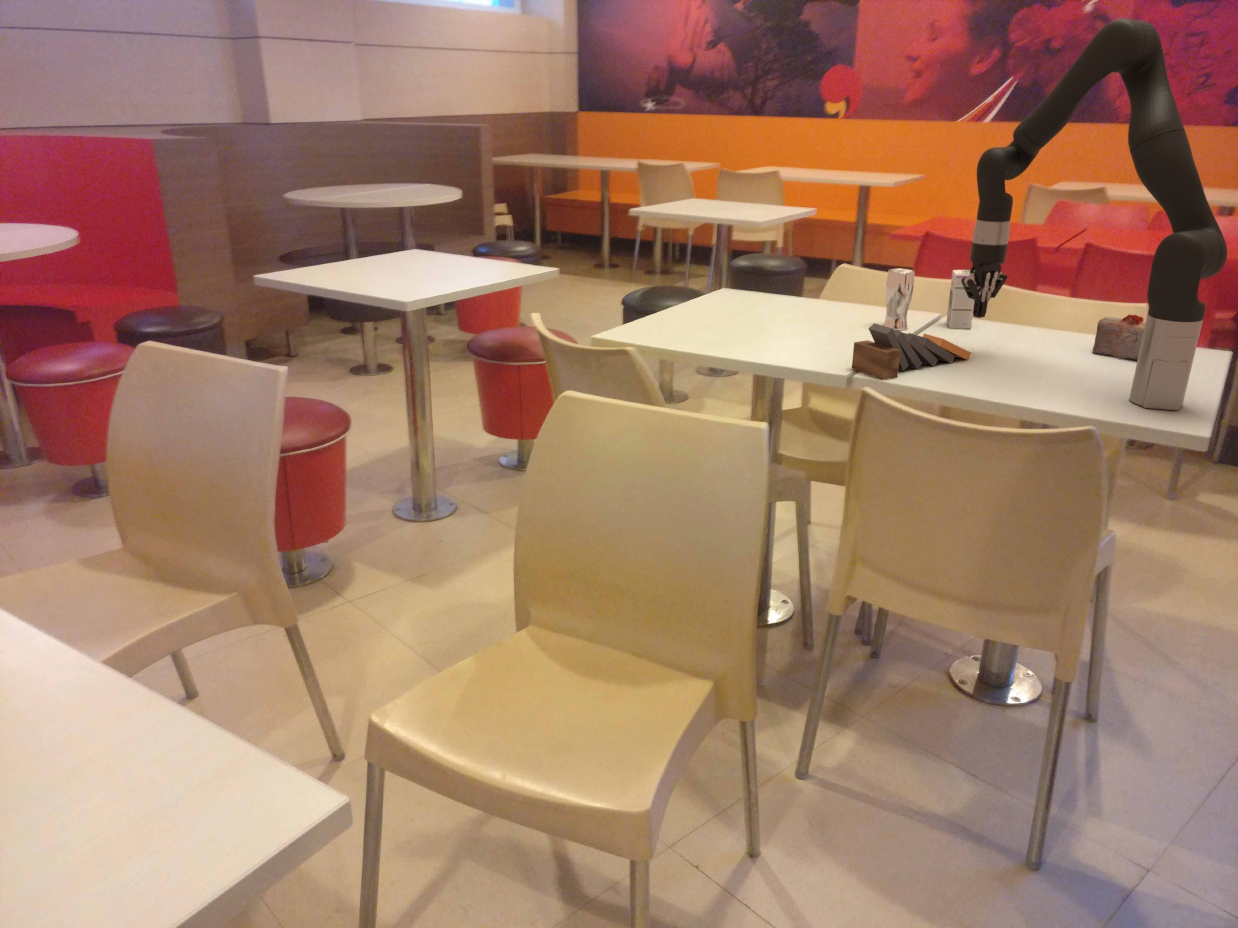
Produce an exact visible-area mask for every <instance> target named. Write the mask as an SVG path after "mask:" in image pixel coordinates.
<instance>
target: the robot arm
mask: <svg viewBox="0 0 1238 928" xmlns="http://www.w3.org/2000/svg"><path fill="white" fill-rule="evenodd" d="M1161 40H1162V39H1161V36H1160V33H1159V31H1158V30H1157V29H1156V27H1155V26H1154V25H1153V24H1151V23H1150V22H1147V21H1145V20H1141V19H1131V18H1116V19H1113V20H1111V21H1109V22H1108V23H1106V24H1105V25H1104V26H1103V27H1101V28H1100V30H1099V31H1098V32H1097V33H1096V34H1095V36H1094V37H1093V38H1092V39H1091V40H1090V41H1089V43H1088V44H1087V45H1086V46H1085V48H1084V49H1083V51H1081V54H1080V55H1079V56H1078V57H1077V59H1076V60H1075V62H1073V63H1072V65H1071V67H1070V68H1069V69H1068V71H1066V73H1065V74H1064V75H1063V77H1062V78H1061V79H1060V81H1059V82H1058V83H1057V84H1056V86H1055V87H1054V88H1053V89H1052V90H1051V91H1050V92H1049V94H1048V95H1046V97H1045V98H1044V99H1043V100H1042V101H1041V102H1040V103H1039V104H1038V105H1037V106H1036V107H1034V108H1033V110H1031V112H1030V113H1029V114H1028V115H1027V116H1026V117H1025V118H1023V120H1021V122H1020V123H1018V125H1017V126H1016V127H1015V128H1014V131H1013V134H1012V138H1013V140H1011V142H1010V143H1009V144H1007V146H1000V147H999V146H998V147H997V146H996V147H990V148H988V149H986V150H984V152H983V153H982V154H981V156H980V157H979V160H978V162H977V166H976V182H977V183H976V184H977V194H978V198H979V199H978V200H979V202H978V208H977V214H976V215H977V216H976V220H975V224H974V229H973V234H972V241H971V247H970V256H969V261H970V262H971V263H972V265H971V268H970V269H969V270H970V275H969V276H968V277H967V278H962V280H961V282H962V285H963V287H964V289H965V291H966V293H967V296H968V298H971V299H973V300H974V308H973V317H974V318H978V319H981V318H985V317H986V314H987V309H988V303H989V301H991V299H992V298H993V299H995V298H996V297H997V295H998V294H999V291H1001V289H1002V287H1003V286H1004V285H1005V283H1006V281H1007V280H1008V275H1007V274H1003V272H1002V264H1004V263H1006V258H1007V252H1008V251H1007V250H1008V245H1009V239H1010V231H1011V216H1012V213H1013V212H1012V211H1013V205H1014V204H1013V203H1014V198H1013V196H1012V195H1011V194H1010V193H1008V192H1006V181H1011V180H1014V179H1016V178H1017V177H1019V176H1020V175H1022V174H1023V173H1024V172H1025V171H1027V169H1028V168H1029V166H1030V165H1031V164H1032V163H1033V162H1034V160H1035V158H1036V157H1037V155H1038V154H1039V153H1040V151H1041V149H1042V148H1044V147H1045V146H1046V145H1047V144H1048V143H1049V142H1050V141H1051V140H1053V138H1055V137H1056V136H1057V135H1058V134H1059V133H1060V132H1061V131H1062V130H1063V128H1065V127H1066V126H1067V124H1068V123H1069V122H1070V120H1071V119H1072V117H1073V115H1074V113H1075V112H1076V110H1077V108H1078V107H1079V105H1080V103H1081V101H1083V99H1084V98H1085V96H1086V95H1087V94H1088V93H1089V92H1090V91H1091V90H1092V89H1093V88H1094V87H1095V86H1096V85H1097V84H1099V82H1101V81H1102V80H1103V79H1104V78H1107V76H1109V75H1110V74H1112V73H1116V74H1117V73H1118V75H1120V77H1121V80H1122V81H1123V84H1124V87H1125V90H1126V93H1127V96H1128V98H1129V104H1130V105H1129V106H1130V114H1129V115H1130V116H1129V123H1128V130H1127V131H1128V133H1127V143H1128V149H1129V152H1130V155H1131V159H1132V163H1133V165H1134V169H1135V171H1136V174H1137V176H1138V179H1139V180H1140V181H1141V183H1142V185H1143V186H1144V187H1145V189H1146V190H1147V191H1148V193H1149V194H1150V195H1151V196H1152V197H1153V198H1154V199H1155V201H1156V202H1157V203H1158V204H1159V205H1160V207H1161V208H1162V210H1163V211H1164V212H1165V214H1166V217H1167V218H1168V221H1169V224H1170V227H1171V230H1172V233H1170V234H1169V235H1167V236H1165V237H1164V238H1163V239H1162V240H1161V241H1160V242H1159V244H1158V246H1157V247H1156V249H1155V251H1154V252H1155V253H1154V256H1153V259H1152V263H1151V268H1150V269H1151V270H1150V273H1149V274H1150V275H1149V280H1148V287H1147V293H1146V296H1147V297H1146V298H1147V303H1148V311H1147V314H1146V316H1147V317H1146V319H1145V323H1146V324H1145V328H1144V333H1143V337H1142V342H1141V346H1140V351H1139V355H1138V360H1136V365H1135V370H1134V374H1133V379H1132V385H1131V389H1130V393H1129V398H1128V399H1129V401H1130V402H1131V403H1133V404H1135V405H1138V406H1141V407H1142V408H1144V409H1154V410H1155V409H1156V410H1169V411H1179V410H1180V408H1182V407H1183V405H1184V400H1185V396H1186V392H1187V389H1188V383H1189V379H1190V376H1191V371H1192V367H1193V362H1194V358H1195V355H1196V350H1197V346H1198V342H1199V338H1200V333H1201V329H1202V326H1203V323H1204V319H1205V316H1206V315H1205V314H1206V308H1207V307H1206V304H1205V303H1204V302H1203V301H1201V300H1199V296H1198V294H1199V287H1200V281H1201V280H1205V279H1209V278H1212V277H1214V276H1216V275H1217V274H1219V272H1221V271H1222V269H1223V267H1224V266H1225V264H1226V262H1227V257H1228V246H1227V242H1226V240H1225V237H1224V234H1223V233H1222V230H1221V228H1220V226H1219V223H1218V222H1217V218H1216V217H1215V215H1214V213H1213V211H1212V209H1211V206H1210V204H1209V201H1208V199H1207V197H1206V193H1205V190H1204V187H1203V183H1202V180H1201V177H1200V175H1199V172H1198V169H1197V165H1196V163H1195V159H1194V157H1193V156H1194V155H1193V153H1192V148H1191V145H1190V142H1189V138H1188V135H1187V132H1186V129H1185V127H1184V124H1183V121H1182V118H1181V116H1180V115H1181V114H1180V112H1179V109H1178V105H1177V103H1176V100H1175V97H1174V94H1173V91H1172V88H1171V85H1170V82H1169V78H1168V77H1169V76H1168V72H1167V66H1166V61H1165V55H1164V49H1163V45H1162V44H1163V43H1162V41H1161Z"/></svg>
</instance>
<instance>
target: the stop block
mask: <svg viewBox="0 0 1238 928" xmlns="http://www.w3.org/2000/svg"><path fill="white" fill-rule="evenodd" d="M900 351H901V350H898V349H895V348H892V347H888V346H885V345H882V344H879V343H875V342H874V341H872V340H870V339H869V340H868V339H867V340H860V341H854V342H853V351H852V360H851V361H852V362H851V369H852V368H854V369H857V370H858V371H857V370H856V371H857V372H860V371H861V373H863V372H864V373H863V374H866V375H869V376H872V377H874V376H875V378H876V379H877V378H878V379H880V378H881V379H880V380H883V379H885V380H890V379H894V377H896V378H898V374H899V369H898V368H899V360H900ZM854 369H853V370H854ZM889 378H890V379H889Z"/></svg>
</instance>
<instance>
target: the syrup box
mask: <svg viewBox="0 0 1238 928" xmlns="http://www.w3.org/2000/svg"><path fill="white" fill-rule="evenodd" d="M970 270H971V269H953V270H952V273H951V281H950V289H949V297H948V306H947V315H946V321H945V322H946V325H947V327H948V328H949V329H955V330H957V329H958V330H971V328H972V324H973V317H974V316H973V308H974V300H973V299H971V298H968V296H967V293H966V291H965V289H964V287H963V285H962V282H961V280H962V278H967V277H968V276H969V275H970Z"/></svg>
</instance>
